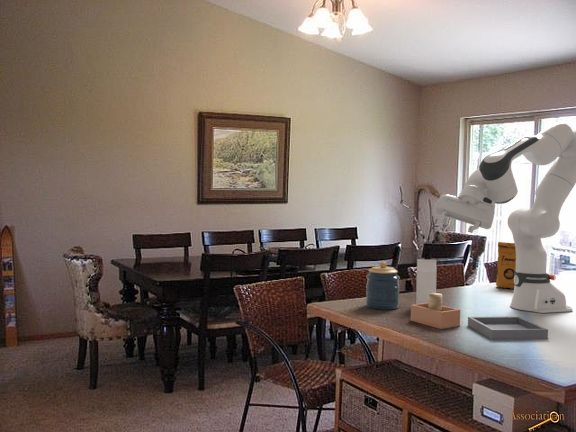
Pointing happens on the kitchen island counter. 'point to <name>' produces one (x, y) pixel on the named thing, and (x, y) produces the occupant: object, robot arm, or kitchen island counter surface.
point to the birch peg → (435, 301)
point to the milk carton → (425, 280)
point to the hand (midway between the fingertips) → (456, 226)
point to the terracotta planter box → (435, 316)
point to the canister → (382, 288)
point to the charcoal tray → (507, 328)
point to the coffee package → (506, 265)
